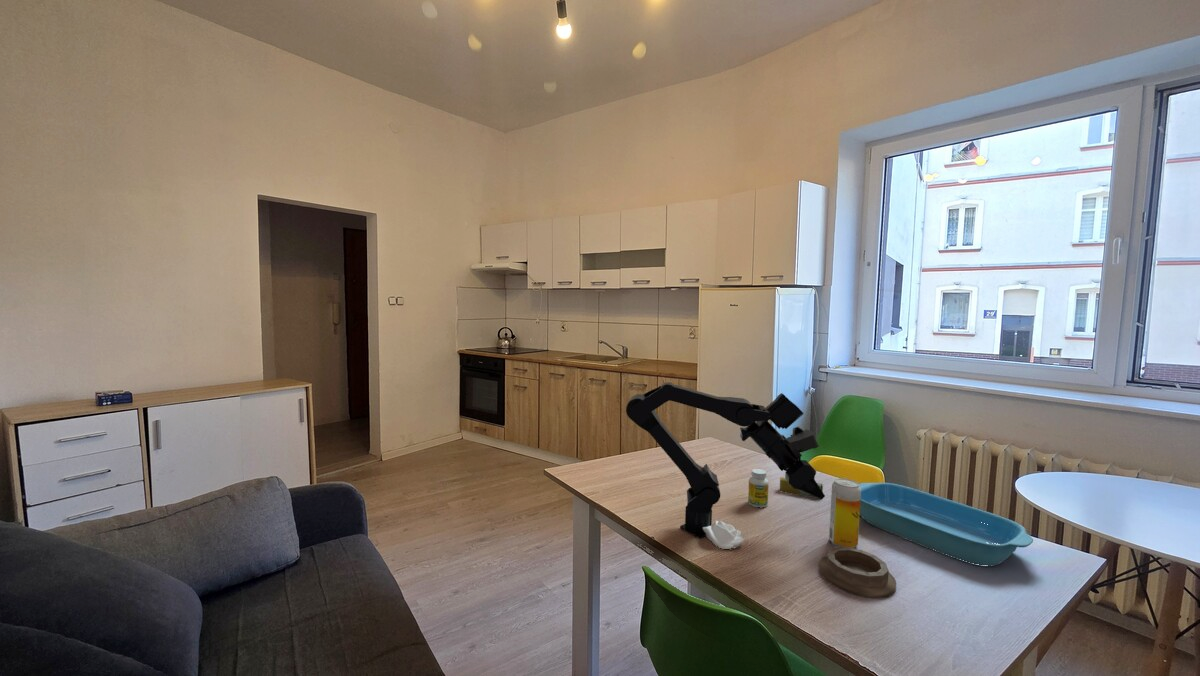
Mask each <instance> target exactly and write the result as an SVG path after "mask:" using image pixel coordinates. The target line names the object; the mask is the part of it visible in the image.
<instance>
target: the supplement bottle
mask: <svg viewBox="0 0 1200 676" xmlns="http://www.w3.org/2000/svg"><path fill="white" fill-rule="evenodd" d="M750 476H751V477H749V479H748V494H747V502H748V504H749V505H750V506H751V505H752V506H751V507H753V508H754V507H755V508H758V507H760V509H762V508H763V507H764V508H766V507H767V506H768V505H769V488H770V487H769V486H770V485H769V482H770V481H769V480H768V478H767V471H766V470H764V469H759V468H753V469H752V470H751V475H750Z"/></svg>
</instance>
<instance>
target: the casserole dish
mask: <svg viewBox="0 0 1200 676" xmlns="http://www.w3.org/2000/svg"><path fill="white" fill-rule="evenodd" d="M859 486H860V488H861V502H860V516H861V517H862V518H863V519H864V520H865V521H866V522H867V523H869V524H870V525H872V526H874V527H876V528H878V529H880V530H883V531H885V532H888V533H891V534H893V535H895V536H897V537H901V538H903V539H905V540H907V541H909V542H913V543H916V544H917V545H919V546H923V547H924V546H925V547H924V548H927V547H928V548H927V549H929V548H931V549H930V550H932V549H934V550H933V551H935V550H936V551H935V552H937V551H939V552H938V553H940V552H941V553H940V554H942V553H944V554H943V555H945V554H947V555H946V556H948V555H949V556H948V557H950V556H952V557H951V558H953V557H955V558H958V559H961V560H964V561H967V562H970V563H974V564H979V565H988V567H992V566H991V565H994V566H997V565H1000V564H1001V563H1002V562H1004V561H1005V560H1007V559H1008V558H1009V557H1010V556H1011V555H1012V554H1013V553H1014V552H1015V551H1016V549H1017V548H1027V547H1028V546H1030V545H1031V544H1032V543H1033V542H1034V539H1033V537H1032V536H1031V535H1029V534H1028V532H1026V531H1027V530H1026V528H1025V527H1024V526H1023V525H1021V524H1020V523H1017V522H1016V521H1014V520H1011V519H1009V518H1006V517H1003V516H1000V515H998V514H996V513H995V514H994V513H992V512H989V511H985V510H982V509H979V508H976V507H973V506H970V505H966V504H964V503H960V502H958V501H955V500H950V499H948V498H944V497H941V496H939V495H935V494H933V493H929V492H926V491H922V490H919V489H916V488H912V487H908V486H906V485H901V484H897V483H892V482H862V483H859ZM981 522H982V523H981ZM984 523H985V524H984ZM987 524H988V525H987ZM986 542H988V543H989V544H987V543H986ZM992 543H993V544H992ZM994 543H996V544H997V543H998V544H1000V545H996V544H994ZM955 558H954V559H955ZM958 559H957V560H958ZM961 560H960V561H961ZM964 561H963V562H964ZM967 562H966V563H967ZM970 563H969V564H970Z"/></svg>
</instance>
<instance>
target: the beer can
mask: <svg viewBox="0 0 1200 676" xmlns="http://www.w3.org/2000/svg"><path fill="white" fill-rule="evenodd" d="M859 484H860V482H857V481H855V480H852V479H849V478H844V477H843V478H841V477H840V478H838V477H837V478H835V479H834V480H833V482H832V484H831V496H830V498H831V499H830V500H831V501H830V518H829V533H828V534H829V535H828V537H829V540H830V542H831V543H832V545H834V546H836V548H838V547H849V548H854V549H856V547H857V546H859V537H860V536H859V531H860V516H861V515H860V502H861V488H860V486H859Z"/></svg>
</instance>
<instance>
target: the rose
mask: <svg viewBox="0 0 1200 676" xmlns="http://www.w3.org/2000/svg"><path fill="white" fill-rule="evenodd" d="M702 529H703V530H704V532H705V533H706V535H705V537H707V538H708V540H709V541H712V542H713V543H714V544H715V545H716V546H715V545H714V544H713V543H712V542H711V543H712V544H713V545H714V546H715V547H717V546H718V547H719V549H720V548H722V549H721V550H723V549H730V550H732V549H731V548H734V547H737V548H739V547H738V546H740V545H742V544H743V542H744V538H743V537H742V536H741V534H742V531H740V530H738V529H735V527H734V525H732V524H728V523H726V522H723V520H715V522H714V523H713V524H711V526H708V527H703V528H702ZM718 547H717V548H718ZM734 549H735V548H734Z"/></svg>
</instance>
